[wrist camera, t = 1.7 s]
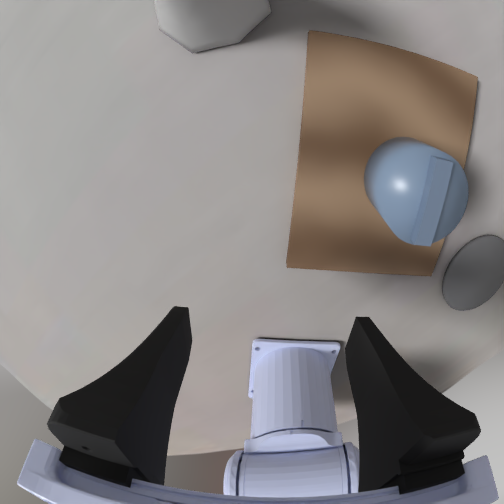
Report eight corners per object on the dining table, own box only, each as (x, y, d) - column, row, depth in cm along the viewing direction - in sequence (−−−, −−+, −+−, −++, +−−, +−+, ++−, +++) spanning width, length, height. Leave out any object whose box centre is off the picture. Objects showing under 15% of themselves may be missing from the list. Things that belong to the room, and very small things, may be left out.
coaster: (487, 307, 24) (489, 309, 24) (430, 308, 25) (431, 311, 24) (517, 239, 20) (520, 241, 20) (460, 230, 20) (463, 232, 20)
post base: (427, 270, 23) (441, 292, 20) (286, 261, 23) (288, 285, 20) (471, 76, 14) (496, 78, 12) (308, 32, 15) (315, 22, 12)
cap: (427, 221, 17) (457, 254, 14) (356, 212, 17) (377, 247, 14) (445, 146, 15) (484, 164, 11) (371, 129, 15) (399, 143, 11)
